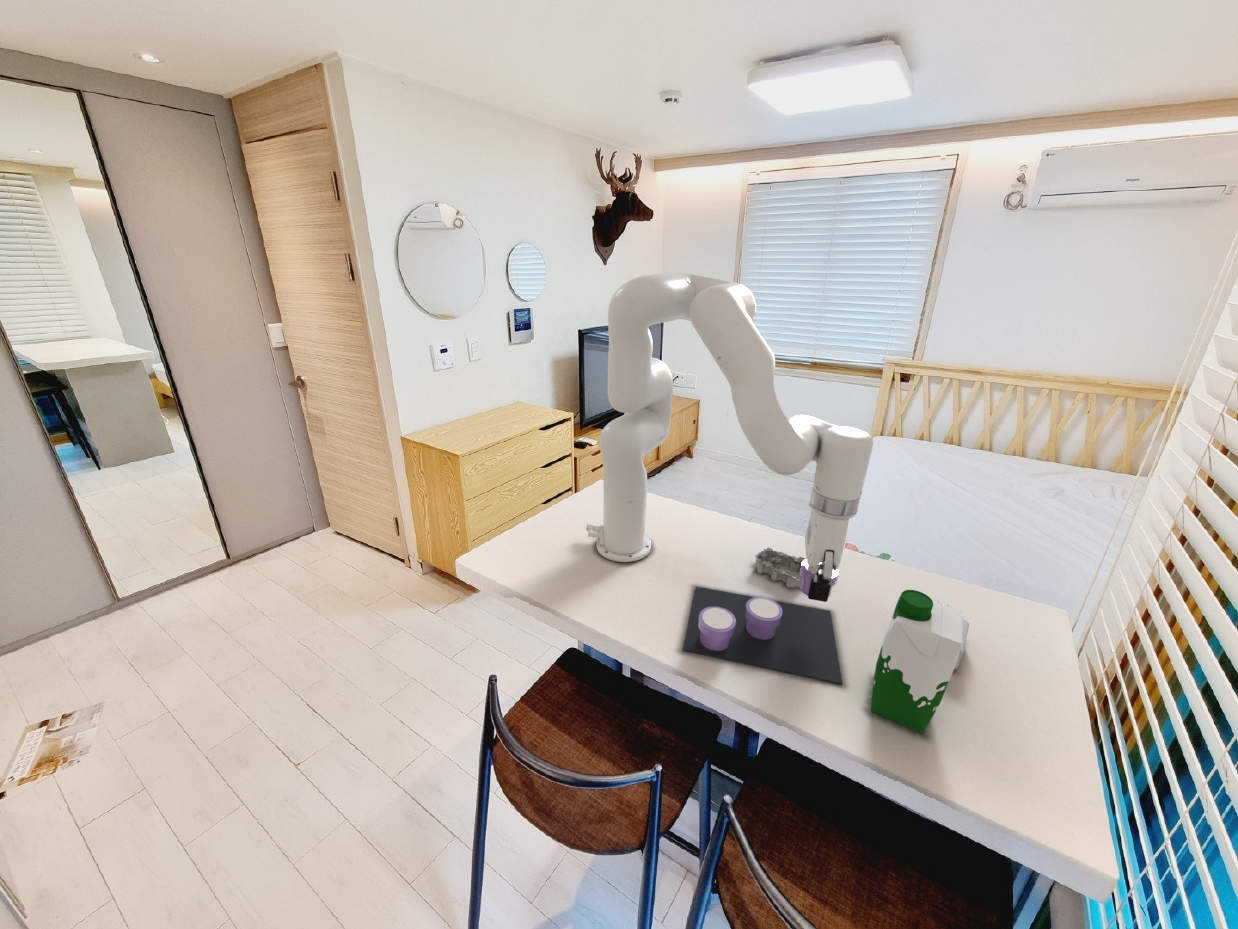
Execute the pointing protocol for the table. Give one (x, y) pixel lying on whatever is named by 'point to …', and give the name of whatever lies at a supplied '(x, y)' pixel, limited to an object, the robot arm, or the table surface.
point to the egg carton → (780, 566)
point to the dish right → (808, 574)
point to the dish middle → (762, 617)
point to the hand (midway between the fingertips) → (815, 586)
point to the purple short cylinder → (716, 628)
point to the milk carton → (916, 660)
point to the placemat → (793, 649)
